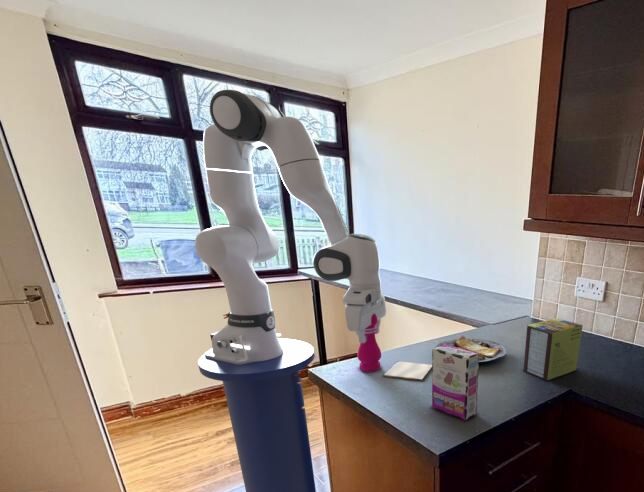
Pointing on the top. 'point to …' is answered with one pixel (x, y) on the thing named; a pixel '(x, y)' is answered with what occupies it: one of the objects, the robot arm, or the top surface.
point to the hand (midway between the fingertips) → (369, 337)
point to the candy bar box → (455, 381)
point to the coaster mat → (408, 370)
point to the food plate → (478, 347)
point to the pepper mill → (369, 349)
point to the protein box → (552, 348)
